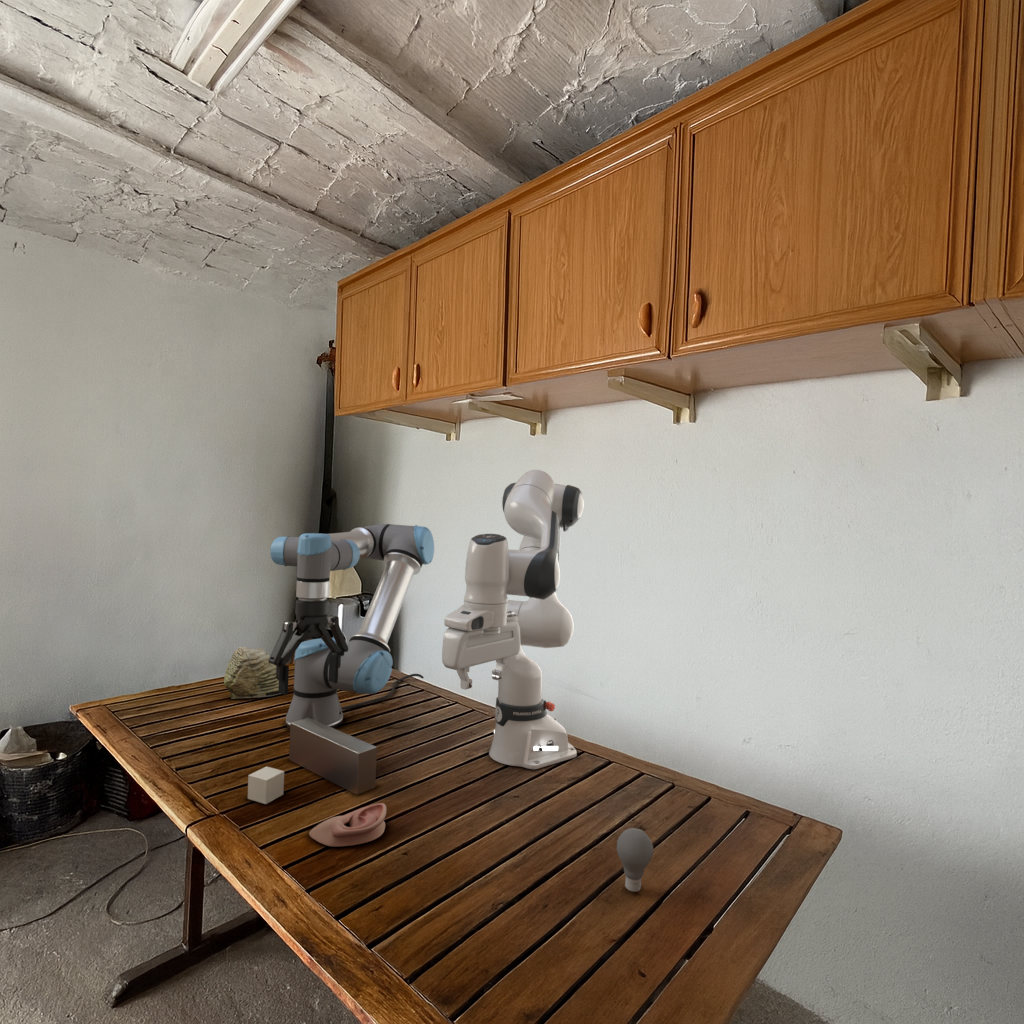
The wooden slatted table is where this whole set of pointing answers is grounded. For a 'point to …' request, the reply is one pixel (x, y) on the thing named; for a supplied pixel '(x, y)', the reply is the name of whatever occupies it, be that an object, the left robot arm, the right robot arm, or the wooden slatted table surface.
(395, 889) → the wooden slatted table surface
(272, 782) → the plastic block
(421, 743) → the wooden slatted table surface
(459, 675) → the right robot arm
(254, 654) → the fossil
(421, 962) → the wooden slatted table surface
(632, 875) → the light bulb
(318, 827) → the anatomical model
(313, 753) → the beam
